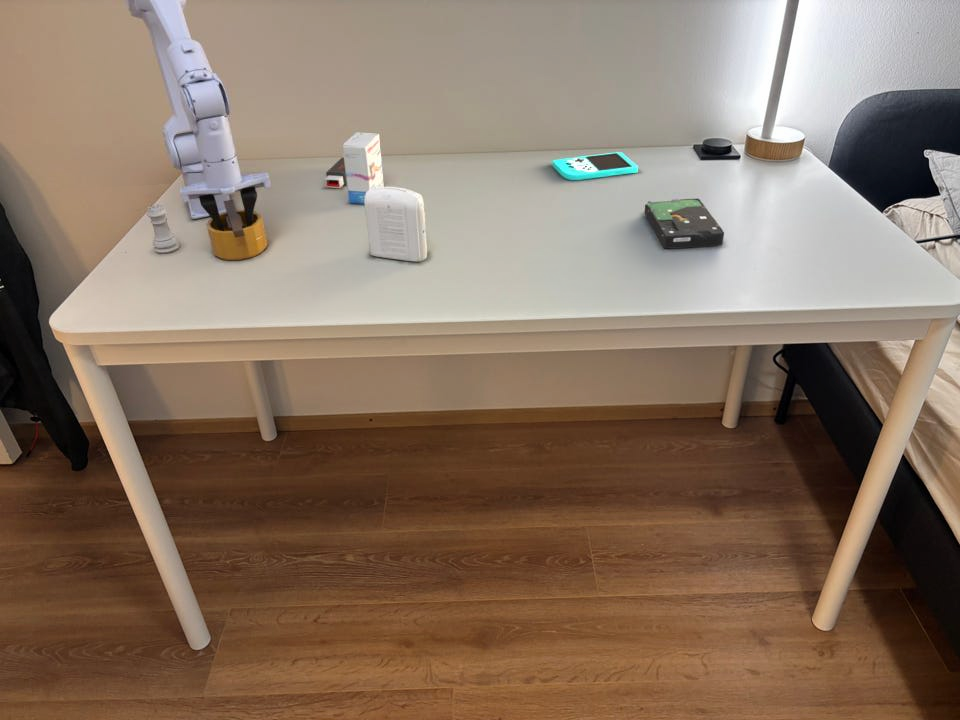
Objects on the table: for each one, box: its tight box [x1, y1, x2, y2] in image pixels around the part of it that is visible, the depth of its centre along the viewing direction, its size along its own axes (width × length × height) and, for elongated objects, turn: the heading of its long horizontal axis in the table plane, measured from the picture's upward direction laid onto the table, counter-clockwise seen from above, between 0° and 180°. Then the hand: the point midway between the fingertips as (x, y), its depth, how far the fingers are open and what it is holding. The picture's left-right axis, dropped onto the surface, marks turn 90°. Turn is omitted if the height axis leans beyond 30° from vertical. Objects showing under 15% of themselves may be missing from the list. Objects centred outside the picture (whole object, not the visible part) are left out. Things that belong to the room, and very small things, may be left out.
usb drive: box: [324, 157, 347, 189], centre depth 158 cm, size 5×12×3 cm, turn 167°
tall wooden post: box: [223, 199, 244, 238], centre depth 130 cm, size 14×2×5 cm, turn 22°
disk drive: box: [644, 198, 725, 249], centre depth 132 cm, size 10×3×15 cm
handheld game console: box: [551, 151, 639, 181], centre depth 158 cm, size 10×16×1 cm, turn 104°
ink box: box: [342, 131, 385, 205], centre depth 147 cm, size 9×5×12 cm, turn 168°
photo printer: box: [363, 186, 428, 263], centre depth 125 cm, size 10×4×12 cm, turn 72°
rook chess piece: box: [146, 204, 181, 255], centre depth 131 cm, size 4×4×8 cm
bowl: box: [205, 209, 269, 261], centre depth 131 cm, size 9×9×6 cm
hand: (236, 231), depth 131 cm, fingers open, 4 cm apart
